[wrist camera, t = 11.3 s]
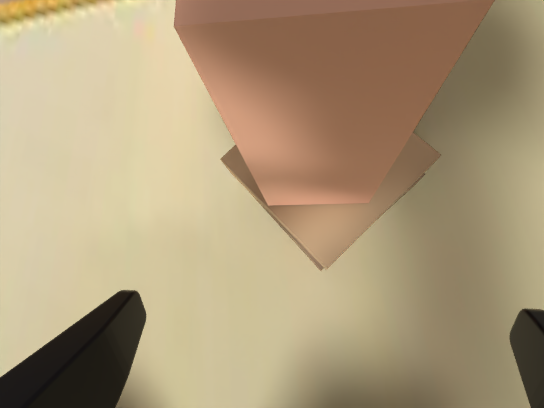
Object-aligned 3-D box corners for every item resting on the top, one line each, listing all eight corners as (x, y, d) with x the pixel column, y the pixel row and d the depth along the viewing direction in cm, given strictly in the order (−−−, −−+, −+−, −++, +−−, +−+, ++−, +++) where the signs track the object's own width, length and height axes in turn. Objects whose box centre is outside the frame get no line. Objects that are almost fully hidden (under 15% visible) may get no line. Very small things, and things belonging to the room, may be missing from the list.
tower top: (426, 170, 20) (441, 155, 17) (326, 269, 19) (327, 267, 17) (324, 85, 22) (325, 60, 19) (231, 173, 21) (220, 159, 19)
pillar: (368, 202, 17) (495, -2, 5) (268, 205, 18) (174, 26, 6) (362, 111, 18) (454, -226, 6) (268, 116, 19) (191, -185, 7)
